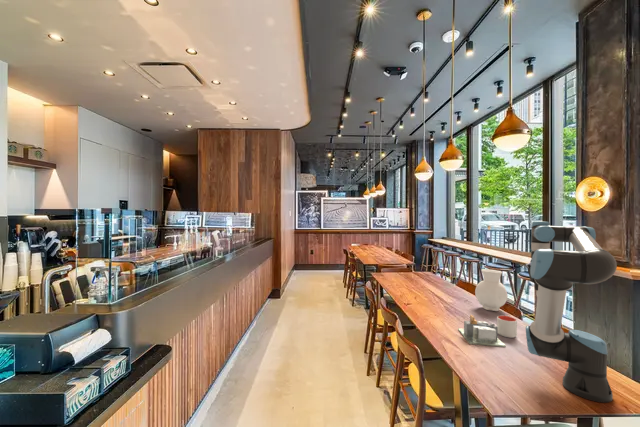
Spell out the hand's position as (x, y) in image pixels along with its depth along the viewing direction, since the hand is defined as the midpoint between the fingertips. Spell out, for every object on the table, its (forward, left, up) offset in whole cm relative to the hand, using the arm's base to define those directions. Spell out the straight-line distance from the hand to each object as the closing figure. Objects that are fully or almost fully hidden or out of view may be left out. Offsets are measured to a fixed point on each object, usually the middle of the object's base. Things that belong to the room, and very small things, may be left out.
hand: (539, 296), depth 149 cm
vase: (+75, -7, -31) cm, 81 cm away
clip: (+17, +26, -22) cm, 38 cm away
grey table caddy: (+17, +22, -30) cm, 41 cm away
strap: (+17, +20, -23) cm, 35 cm away
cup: (+25, +4, -31) cm, 40 cm away
